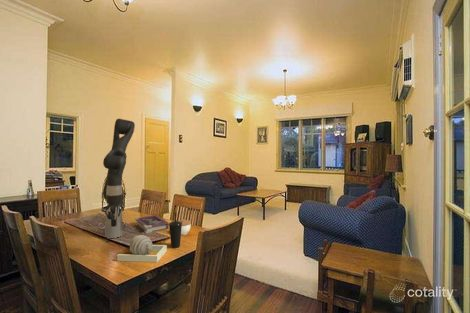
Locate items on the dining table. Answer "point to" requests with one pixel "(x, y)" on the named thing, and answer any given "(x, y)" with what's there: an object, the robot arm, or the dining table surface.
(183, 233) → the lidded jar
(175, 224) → the drinking cup
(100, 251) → the dining table surface
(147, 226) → the book
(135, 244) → the grey ridged rounded piece
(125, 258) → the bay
